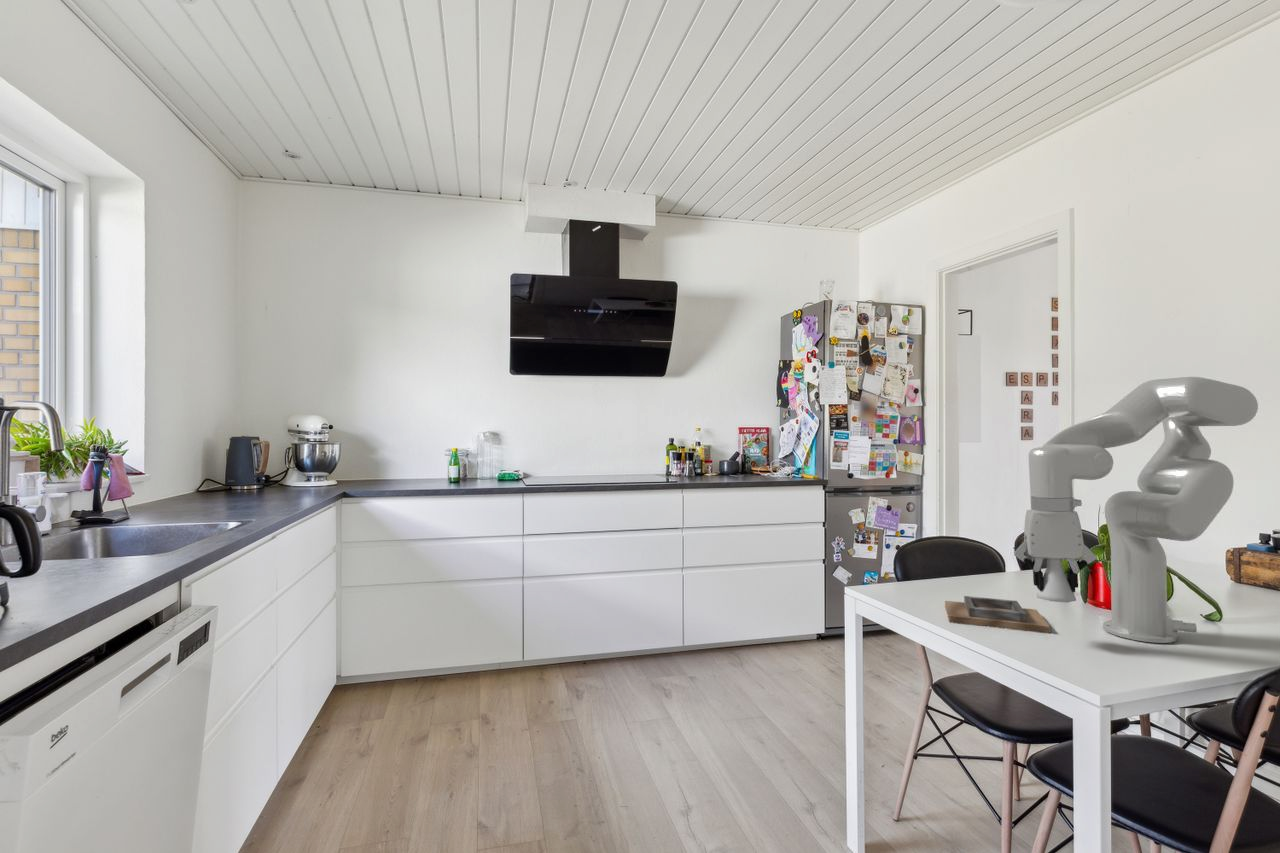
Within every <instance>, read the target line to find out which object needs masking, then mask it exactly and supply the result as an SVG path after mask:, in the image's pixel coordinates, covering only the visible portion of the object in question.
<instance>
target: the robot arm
mask: <svg viewBox="0 0 1280 853" xmlns="http://www.w3.org/2000/svg"><path fill="white" fill-rule="evenodd" d="M1258 409H1259V403H1258V400H1257V398H1256V396H1255V395H1254V393H1253V392H1251V391H1250V390H1249V389H1248V388H1246V387H1243V386H1240V385H1236V384H1232V383H1229V382H1228V383H1227V382H1224V381H1220V380H1215V379H1212V378H1205V377H1200V376H1185V377H1183V376H1182V377H1172V378H1171V377H1169V378H1158V379H1152V380H1148V381H1145V382H1143V383H1141V384H1139V385H1137V387H1135V388H1134V389H1133V390H1132V391H1130V392H1129V393H1128V394H1127V395H1125V396H1123V398H1122V399H1120V400H1119V401H1117V403H1115V404H1114V405H1113V406H1112V407H1111V408H1109V409H1108V410H1106V411H1105V412H1103V413H1101V414H1098V415H1095V416H1093V417H1089V418H1088V419H1086V420H1083V421H1081V422H1078V423H1076V424H1074V425H1071V426H1069V427H1067V428H1065V429H1063V430H1061V431H1059V432H1058V433H1056V434H1055V435H1054V436H1053V437H1051V438H1050V439H1049V440H1047V441H1046V442H1045V443H1044V444H1043V445H1042V446H1041V447H1034V448H1031V449H1030V450H1029V452H1028V473H1029V475H1028V476H1029V492H1030V493H1029V494H1030V496H1029V497H1030V509H1027V510H1026V513H1025V520H1024V527H1023V528H1024V532H1023V534H1024V535H1023V538H1024V539H1023V541H1022V542H1021V544H1020V545H1019V546H1018V547H1017V548H1016V550H1014V552H1013V555H1014V556H1015V557H1016V558H1017V559H1019V560H1020V561H1022V563H1025V565H1027V566H1028V567H1029V568H1030V569H1031V570H1032V574H1033V575H1032V577H1033V578H1032V579H1033V581H1032V582H1033V585H1034V586H1036V588H1037V590H1038V589H1039V590H1040V591H1043V589H1044V585H1043V576H1044V573H1043V571H1042V567H1041V566H1042V564H1043V562H1044V561H1043V560H1044V559H1045V560H1047V559H1062V560H1066V563H1067V565H1068V567H1069V568H1068V570H1067V571H1066V577H1067V580H1068V582H1069V584H1070V587H1071V590H1072V592H1073V593H1074V594H1076V588H1077V589H1078V588H1079V577H1078V576H1079V575H1078V574H1080V572H1081V571H1082V570H1083V569H1084V568H1086V567H1087V566H1088V565H1089V564H1091V563H1092V562H1094V561H1096V559H1097V558H1098V557H1097V556H1096V554H1095V553H1093V552H1092V551H1091V549H1090V548H1089V547H1088V546H1087V545H1085V543H1084V536H1083V530H1082V526H1081V521H1080V516H1079V514H1078V512H1077V511H1076V510H1075V509H1076V507H1082V503H1083V502H1082V499H1077V498H1075V497H1074V490H1073V489H1074V488H1073V480H1085V481H1094V480H1100V479H1103V478H1104V477H1106V476H1108V475H1109V474H1110V473H1111V472H1112V471H1113V470H1112V469H1113V467H1114V458H1113V456H1112V454H1111V453H1110V452H1109V451H1108V450H1107V449H1109V448H1110V449H1111V448H1116V447H1121V446H1126V445H1128V444H1129V445H1130V444H1132V443H1136V442H1138V441H1139V440H1142V439H1143V438H1144V437H1145V436H1147V434H1148V433H1150V432H1151V431H1152V430H1154V429H1155V428H1156V427H1157V426H1158V425H1159V424H1161V423H1162V427H1163V434H1164V439H1163V442H1162V444H1161V445H1160V446H1159V448H1157V451H1155V453H1154V454H1153V455H1152V457H1151V458H1150V459H1149V460H1148V462H1147V463H1146V464H1145V465H1144V466H1143V467H1142V469H1141V471H1140V473H1139V475H1138V477H1137V479H1136V481H1137V482H1136V484H1137V487H1138V489H1139V490H1137V491H1136V490H1135V491H1134V490H1125V491H1119V492H1117V493H1114V494H1112V495H1111V496H1110V497H1109V498H1108V499H1107V501H1105V502H1106V503H1105V505H1104V517H1105V521H1106V525H1107V528H1108V534H1109V540H1110V542H1109V543H1110V586H1111V587H1110V591H1111V592H1110V595H1111V596H1110V600H1111V619H1110V620H1105V621H1103V623H1102V627H1103V628H1102V629H1103V630H1105V632H1107V633H1110V634H1112V635H1114V636H1117V637H1121V638H1124V639H1128V640H1133V641H1137V642H1144V643H1145V642H1146V643H1154V644H1172V643H1174V642H1176V641H1177V640H1178V634H1177V633H1178V632H1179V631H1180V632H1187V633H1192V634H1193V633H1197V631H1198V627H1197V625H1196V623H1193V622H1184V621H1183V620H1177V619H1175V620H1174V619H1172V618H1171V617H1169V616H1168V593H1167V592H1168V591H1167V589H1168V588H1167V584H1168V583H1167V582H1168V581H1167V580H1168V579H1167V578H1168V577H1167V576H1168V575H1167V566H1168V565H1167V555H1166V552H1165V550H1164V547H1163V546H1162V544H1161V543H1160V540H1159V539H1162V540H1163V539H1164V540H1170V541H1176V542H1177V541H1178V542H1191V541H1194V540H1196V539H1197V538H1199V537H1200V536H1201V535H1203V534H1204V532H1206V530H1207V529H1208V527H1209V526H1210V525H1211V523H1212V522H1213V521H1214V520H1215V518H1216V517H1217V516H1218V514H1219V513H1220V512H1221V510H1222V509H1223V507H1224V506H1226V504H1227V503H1228V501H1229V500H1230V497H1231V495H1232V493H1233V489H1234V476H1233V473H1232V470H1231V469H1230V468H1229V467H1228V466H1227V465H1226V464H1224V463H1223V462H1221V461H1217V460H1215V459H1210V457H1211V455H1212V449H1211V446H1210V443H1209V442H1208V440H1207V439H1206V438H1205V437H1204V435H1203V434H1202V432H1201V429H1200V427H1237V426H1243V425H1245V424H1248V423H1250V422H1251V421H1252V420H1253V419H1254V418H1255V417H1256V415H1257V413H1258ZM1025 553H1027V554H1028V555H1029V557H1032V559H1031V558H1029V557H1027V556H1026V555H1025Z"/></svg>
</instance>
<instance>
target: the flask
mask: <svg viewBox="0 0 1280 853" xmlns="http://www.w3.org/2000/svg"><path fill="white" fill-rule="evenodd" d="M1062 560H1063V559H1046V566H1045V571H1044V573H1043V585H1044V589H1043V591H1040V590H1039V589H1038V588H1037V592H1036V598H1037V599H1042V600H1045V601H1049V602H1054V603H1055V602H1056V603H1067V604H1069V603H1071V602H1075V601H1076V602H1077V598H1076V595H1075V593H1074V592H1072V590H1071V587H1070V584H1069V582H1068V580H1067V574H1066V572H1065V570H1064V566H1063V561H1062Z"/></svg>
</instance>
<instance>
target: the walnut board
mask: <svg viewBox="0 0 1280 853" xmlns="http://www.w3.org/2000/svg"><path fill="white" fill-rule="evenodd" d="M963 597H964V598H963V599H964V602H962V601H952V600H951V601H950V600H945V601H944V608H945V612H946V615H948V616H947V619H948V622H949V623H951V622H953V624H960V623H961V624H962V625H969V626H970V625H971V626H982V627H987V626H989V628H996V627H998V629H1005V628H1007V629H1008V630H1015V631H1024V632H1025V631H1026V632H1034V633H1035V632H1036V633H1044V634H1051V626H1050V625H1049V624H1048V623H1047V621H1046V620H1045V619H1044V617H1043V616H1042V614H1040V612H1039V611H1038V610H1037V609H1036V608H1035V609H1034V608H1033V609H1032V608H1024V607H1022V606H1021V605H1020V603H1019V602H1018V601H1017V600H1011V599H1001V598H993V597H992V598H989V597H980V596H979V597H978V596H970V595H969V596H968V595H964V596H963Z"/></svg>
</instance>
